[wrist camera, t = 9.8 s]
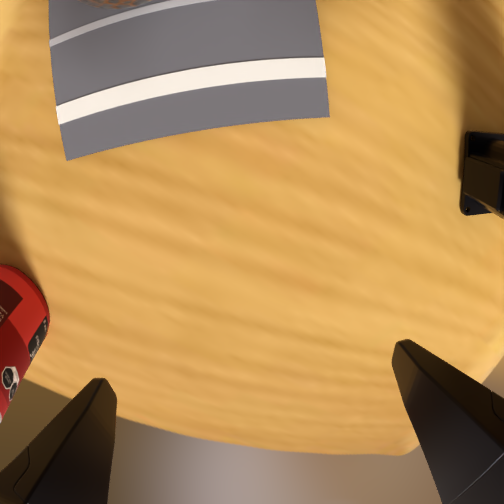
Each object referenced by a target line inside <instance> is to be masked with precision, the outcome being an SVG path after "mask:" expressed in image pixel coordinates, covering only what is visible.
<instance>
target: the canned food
mask: <svg viewBox="0 0 504 504" xmlns="http://www.w3.org/2000/svg"><path fill="white" fill-rule="evenodd" d="M49 322H50V317H49V311H48V307H47V304H46V302H45V300H44V298H43V296H42V294H41V292H40V291H39V289H38V288H37V286H36V285H35V284H34V283H33V282H32V281H31V280H30V279H29V278H28V277H27V276H26V275H25V274H24V273H22V272H21V271H19V270H18V269H16V268H14V267H12V266H8V265H0V423H1V421H2V418H3V416H4V414H5V413H6V410H7V408H8V406H9V404H10V402H11V400H12V398H13V396H14V394H15V392H16V390H17V388H18V386H19V384H20V382H21V380H22V378H23V377H24V375H25V373H26V371H27V369H28V367H29V365H30V364H31V362H32V360H33V358H34V356H35V355H36V353H37V351H38V349H39V348H40V346H41V344H42V342H43V341H44V339H45V337H46V335H47V332H48V327H49Z"/></svg>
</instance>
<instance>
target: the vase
mask: <svg viewBox="0 0 504 504" xmlns="http://www.w3.org/2000/svg"><path fill="white" fill-rule="evenodd" d="M78 1H80V2H82V3H85V4H87V5H90V6H93V7H97V8H103V9H124V8H131V7H135V6H139V5H142V4H145V3H147V2H150V1H152V0H78Z"/></svg>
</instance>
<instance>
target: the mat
mask: <svg viewBox="0 0 504 504" xmlns="http://www.w3.org/2000/svg"><path fill="white" fill-rule="evenodd" d="M49 34H50V40H49V45H50V51H51V64H52V74H53V83H54V91H55V99H56V111H57V117H58V123H59V125H60V130H61V135H62V141H63V146H64V151H65V155H66V160H67V161H68V160H72V159H75V158H78V157H82V156H86V155H89V154H93V153H97V152H100V151H104V150H108V149H112V148H116V147H120V146H124V145H129V144H133V143H137V142H142V141H146V140H151V139H156V138H161V137H166V136H171V135H176V134H182V133H188V132H193V131H199V130H206V129H212V128H219V127H226V126H233V125H241V124H249V123H258V122H268V121H278V120H290V119H304V118H321V117H330V115H329V103H328V93H327V83H326V69H325V60H324V56H323V48H322V41H321V33H320V26H319V20H318V13H317V7H316V1H315V0H152V1H150V2H147V3H145V4H142V5H139V6H135V7H131V8H124V9H103V8H97V7H93V6H90V5H87V4H85V3H82V2H80V1H78V0H49Z"/></svg>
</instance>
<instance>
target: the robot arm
mask: <svg viewBox="0 0 504 504" xmlns="http://www.w3.org/2000/svg"><path fill="white" fill-rule="evenodd" d="M471 136H472V139H471ZM466 208H467V210H466ZM461 212H462V213H463V214H464V215H466V216H469V215H477V214H486V213H494V214H496V215H497V216H499V217H501V218H502V219H504V134H499V133H490V132H479V131H467V132H466V134H465V158H464V176H463V189H462V200H461ZM392 367H393V370H394V374H395V377H396V380H397V383H398V386H399V390H400V393H401V396H402V400H403V403H404V406H405V408H406V411H407V413H408V416H409V418H410V421H411V423H412V425H413V428H414V430H415V433H416V435H417V437H418V440H419V442H420V445H421V447H422V450H423V452H424V455H425V458H426V460H427V463H428V465H429V468H430V470H431V473H432V476H433V479H434V481H435V484H436V487H437V490H438V492H439V495H440V498H441V501H442V504H504V398H502V397H501V396H499V395H498V394H496V393H494V392H493V391H492V392H491V390H490V389H488V388H487V387H485V386H483V385H482V384H480V383H479V382H477V381H475V380H474V379H472V378H471V377H469V376H468V375H466V374H464V373H463V372H461V371H460V370H458V369H456V368H455V367H453V366H452V365H450V364H448V363H447V362H445V361H444V360H442V359H440V358H439V357H437V356H436V355H434V354H432V353H431V352H429V351H428V350H426V349H424V348H423V347H421V346H420V345H418V344H416V343H415V342H413V341H412V340H410V339H405V340H401V341H398V342H397V343H396V344H395V348H394V353H393V357H392ZM116 408H117V397H116V394H115V392H114V391H113V389H112V387H111V386H110V384H109V382H108V381H107V380H106V379H105V378H94V379H92V380H91V381H90V382H89V383H88V384H87V385H86V386H85V387H84V388H83V389H82V390H81V391H80V392H79V393H78V394H77V395H76V396H75V397H74V398H73V399H72V400H71V401H70V402H69V403H68V404H67V405H66V406H65V407H64V408H63V410H61V412H59V414H58V415H57V416H56V417H55V418H54V419H53V420H52V421H51V422H50V423H49V424H48V425H47V426H46V427H45V428H44V429H43V430H42V431H41V432H40V433H39V434H38V435H37V436H36V437H35V438H34V439H33V440H32V441H31V442H30V444H29V446H26V448H25V449H24V450H23V451H22V452H21V453H20V454H19V455H18V456H17V457H16V458H15V459H14V460H13V461H12V462H11V463H9V464H8V466H6V467H5V468H4V469H3V470H1V472H0V504H107V501H108V490H109V481H110V474H111V466H112V458H113V451H114V443H115V427H116Z"/></svg>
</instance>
